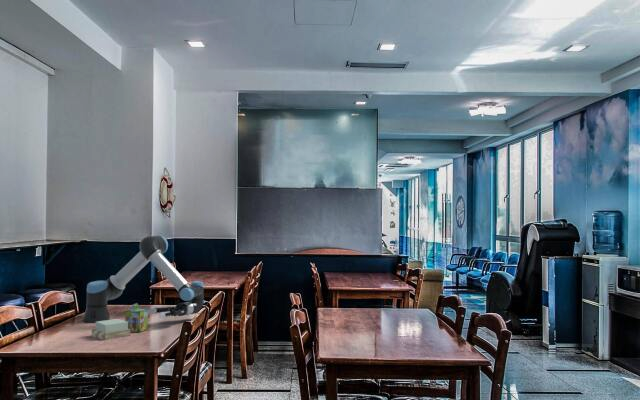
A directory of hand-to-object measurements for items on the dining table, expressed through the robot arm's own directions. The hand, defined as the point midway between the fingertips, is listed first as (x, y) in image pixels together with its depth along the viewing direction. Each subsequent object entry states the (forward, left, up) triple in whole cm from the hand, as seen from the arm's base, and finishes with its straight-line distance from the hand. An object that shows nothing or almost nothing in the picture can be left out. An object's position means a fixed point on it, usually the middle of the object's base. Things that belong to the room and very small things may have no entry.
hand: (152, 313), depth 301 cm
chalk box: (0, -10, -8) cm, 13 cm away
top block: (+2, -26, -5) cm, 26 cm away
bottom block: (+2, -26, -9) cm, 28 cm away
